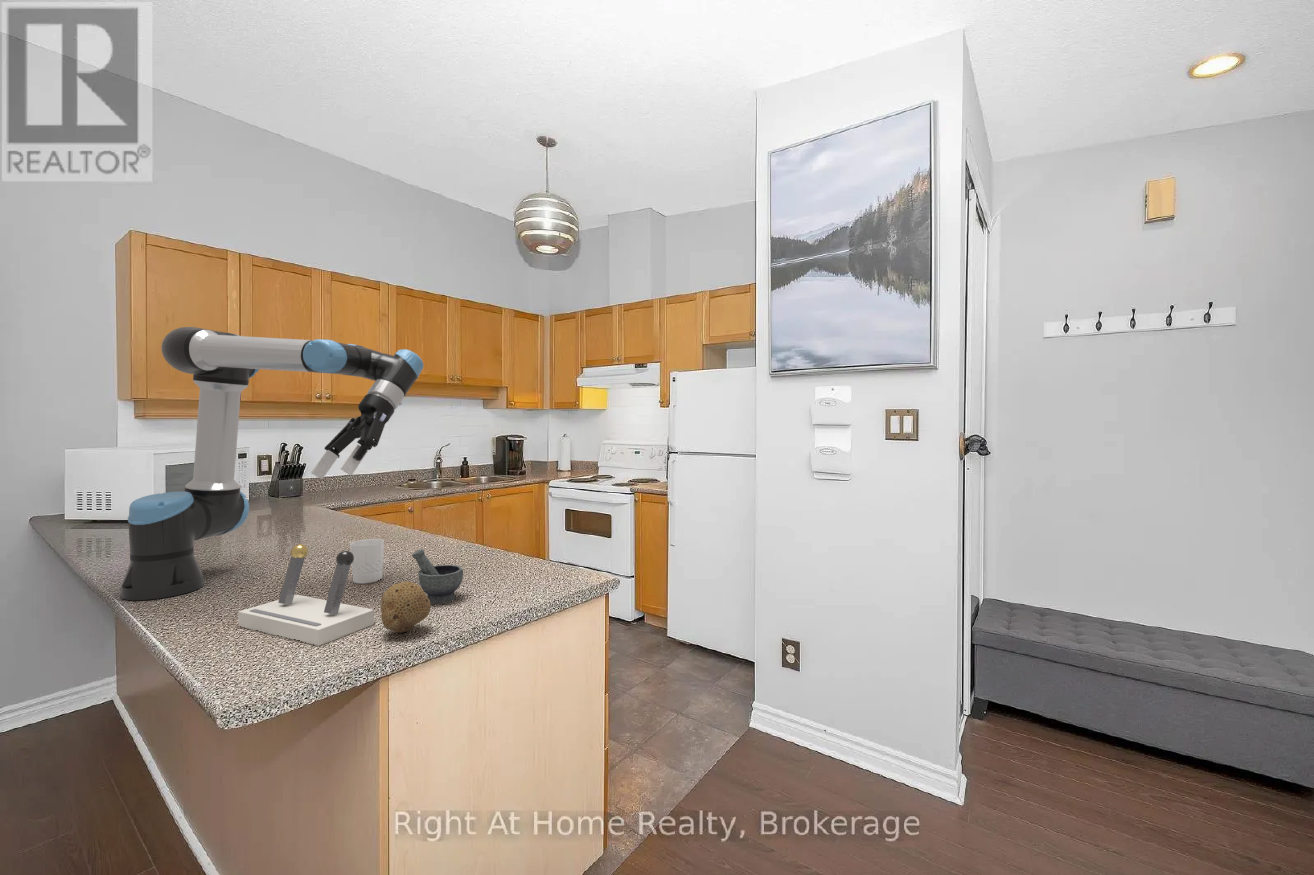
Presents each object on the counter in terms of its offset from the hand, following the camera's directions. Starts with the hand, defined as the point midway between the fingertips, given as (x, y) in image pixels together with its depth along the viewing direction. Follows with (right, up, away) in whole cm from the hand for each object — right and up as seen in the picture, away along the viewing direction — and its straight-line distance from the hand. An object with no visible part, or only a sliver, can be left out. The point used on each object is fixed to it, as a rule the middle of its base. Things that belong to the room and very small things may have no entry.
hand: (330, 474), depth 127 cm
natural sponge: (+24, -30, -16) cm, 42 cm away
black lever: (+9, -27, -15) cm, 33 cm away
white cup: (-2, -29, +19) cm, 35 cm away
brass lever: (-4, -27, -10) cm, 29 cm away
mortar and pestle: (+23, -30, +4) cm, 38 cm away
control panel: (+2, -30, -13) cm, 33 cm away
